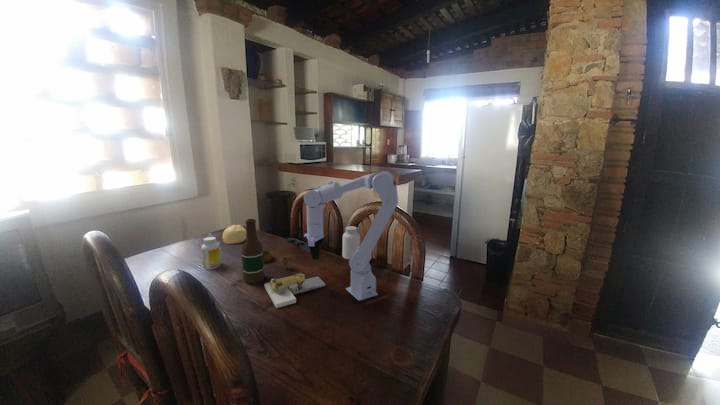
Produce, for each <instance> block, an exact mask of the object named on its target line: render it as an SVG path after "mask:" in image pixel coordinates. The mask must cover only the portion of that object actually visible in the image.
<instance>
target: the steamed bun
mask: <svg viewBox="0 0 720 405" xmlns="http://www.w3.org/2000/svg"><path fill="white" fill-rule="evenodd" d="M222 241H223V243H224V244H225V245H226V244H227V245H228V244H229V245H236V244H240V243H243V242H246V228H245V227H244V226H243V225H241V224H232V225H231V226H227V228H225V229H224V231H223V232H222ZM235 243H236V244H235Z"/></svg>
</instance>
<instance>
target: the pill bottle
mask: <svg viewBox="0 0 720 405" xmlns="http://www.w3.org/2000/svg"><path fill="white" fill-rule="evenodd" d="M360 241H361V236H360V233H359V232H358V227H356V226H353V225H352V226H346V227H345V231H344V233H343V234H342V251H341V252H342V253H341V254H342V257H343V258H344V259H346V260H350V258H351V257H352V256H353V255H354V253H355V251H356V250H357V248H359V247H360V245H361V242H360Z"/></svg>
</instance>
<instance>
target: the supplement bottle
mask: <svg viewBox="0 0 720 405" xmlns="http://www.w3.org/2000/svg"><path fill="white" fill-rule="evenodd" d="M206 237H207V236H206ZM206 237H205V238H204V239H203V242H204V245H202V247H201V257H202V258H201V259H202V266H203V269H204V270H214V269H216V268H219V267H220V266H221V264H222V262H221V253H220V252H221V251H220V250H219V247H220V244H218V243H216V241H217V238H216V237H215V236H213V237H207V238H206Z"/></svg>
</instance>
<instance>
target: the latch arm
mask: <svg viewBox="0 0 720 405" xmlns="http://www.w3.org/2000/svg"><path fill="white" fill-rule="evenodd" d="M305 279H306V276H305V274H304V273H301V272H299V273H296V274H294V275H290V276H289V275H288V276H285V277H281V278H275V277H274V278H271V280H269V282H270V287H271V289H272V290H273V289H277V288H278V286H281V285H284V287H286V286H287V287H288V286H290V285H294V284H302V283H304V282H305Z"/></svg>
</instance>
